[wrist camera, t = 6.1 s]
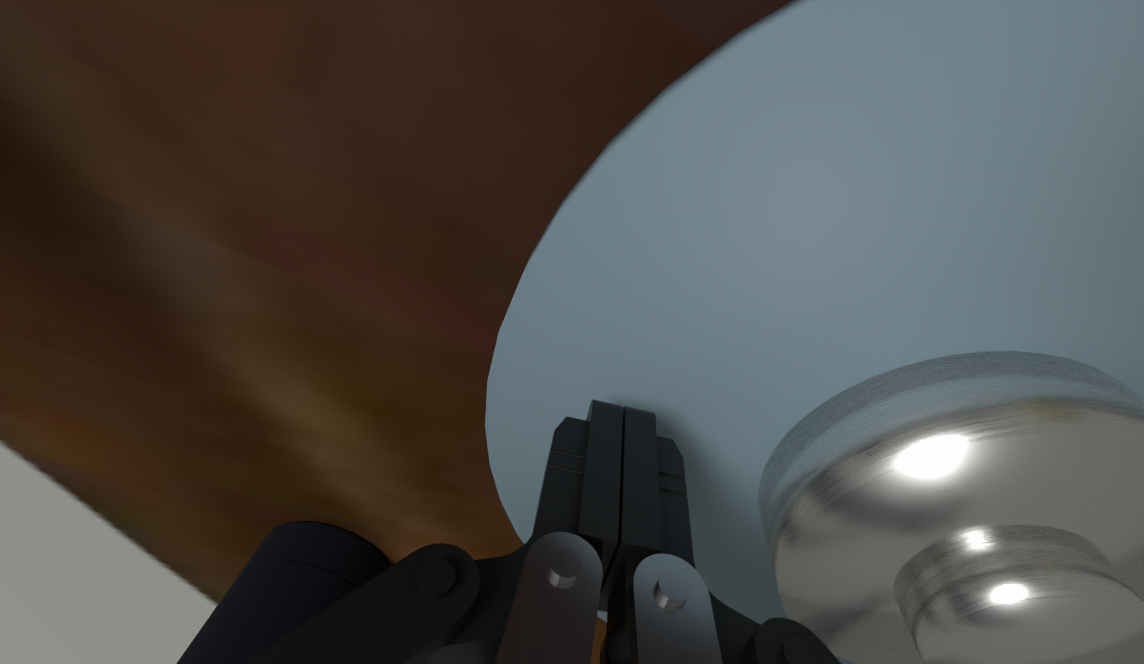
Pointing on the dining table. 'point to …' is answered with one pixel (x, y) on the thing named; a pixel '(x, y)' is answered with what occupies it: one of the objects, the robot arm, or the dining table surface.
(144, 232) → the dining table surface
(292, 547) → the black bottle
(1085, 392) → the cover
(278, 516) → the dining table surface
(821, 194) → the platter
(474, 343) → the dining table surface
